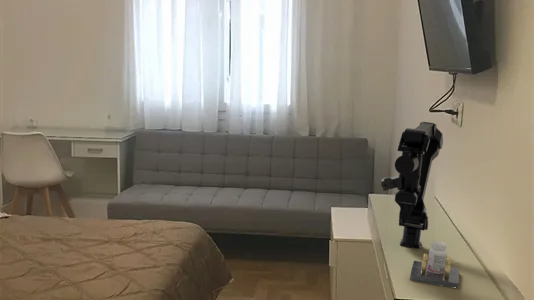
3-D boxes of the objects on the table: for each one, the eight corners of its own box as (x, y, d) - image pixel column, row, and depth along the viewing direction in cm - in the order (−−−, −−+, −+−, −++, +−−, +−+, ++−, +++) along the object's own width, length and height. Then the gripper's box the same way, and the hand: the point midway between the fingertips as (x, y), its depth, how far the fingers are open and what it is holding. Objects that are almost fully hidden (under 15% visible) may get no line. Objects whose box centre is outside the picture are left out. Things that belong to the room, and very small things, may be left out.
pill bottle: (425, 267, 173) (429, 239, 172) (442, 269, 173) (445, 241, 171) (428, 273, 168) (431, 244, 167) (445, 275, 168) (449, 246, 167)
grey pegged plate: (413, 265, 179) (415, 249, 178) (458, 273, 175) (460, 257, 174) (409, 279, 166) (411, 262, 166) (458, 288, 163) (460, 271, 162)
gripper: (388, 161, 193) (382, 208, 195) (380, 171, 175) (374, 222, 178) (423, 166, 189) (417, 213, 192) (419, 176, 172) (412, 228, 174)
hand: (404, 219), depth 184 cm, fingers open, 9 cm apart
